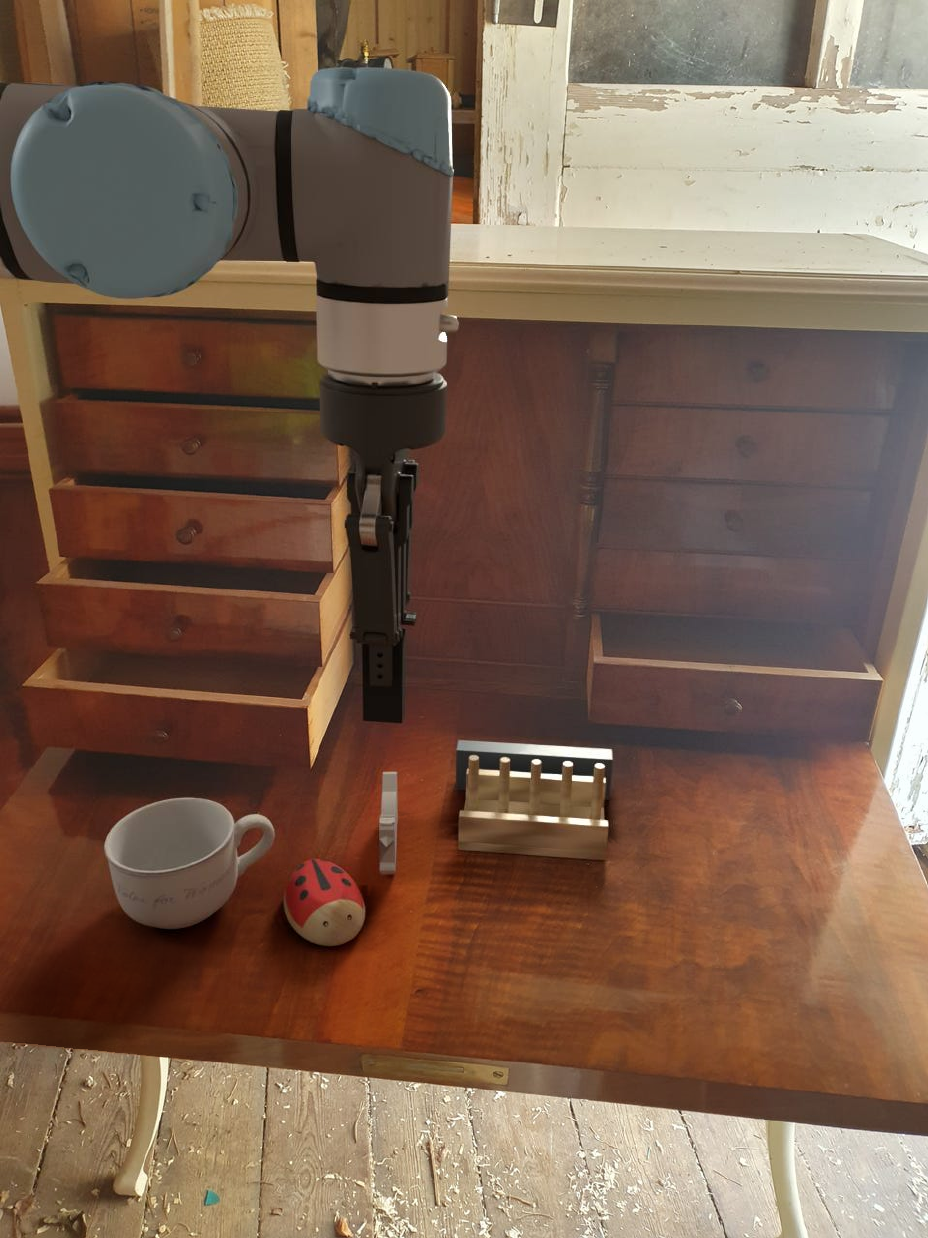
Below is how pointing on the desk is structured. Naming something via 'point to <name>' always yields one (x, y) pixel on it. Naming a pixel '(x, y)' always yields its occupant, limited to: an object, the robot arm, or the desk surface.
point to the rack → (534, 812)
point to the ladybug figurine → (323, 903)
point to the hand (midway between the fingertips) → (384, 716)
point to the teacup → (180, 860)
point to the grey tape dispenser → (388, 823)
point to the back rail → (526, 753)
